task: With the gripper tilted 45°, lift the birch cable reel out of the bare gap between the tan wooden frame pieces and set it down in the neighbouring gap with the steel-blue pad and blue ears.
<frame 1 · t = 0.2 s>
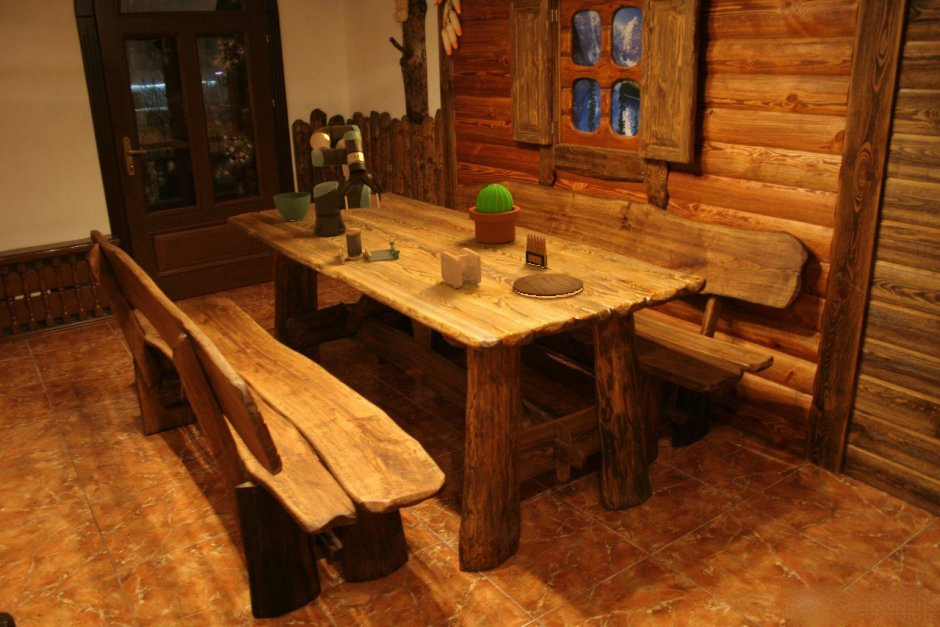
hand: (363, 209, 357), 16 cm above the table, tool tilted 35°, fingers open, 13 cm apart
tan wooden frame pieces: (368, 256, 342), on the table
trivet: (548, 289, 293), on the table
ammunition clip: (536, 265, 321), on the table
cable organizer: (461, 284, 302), on the table
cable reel: (355, 258, 341), on the table
potted cactus: (495, 239, 362), on the table
plant pot: (294, 219, 417), on the table
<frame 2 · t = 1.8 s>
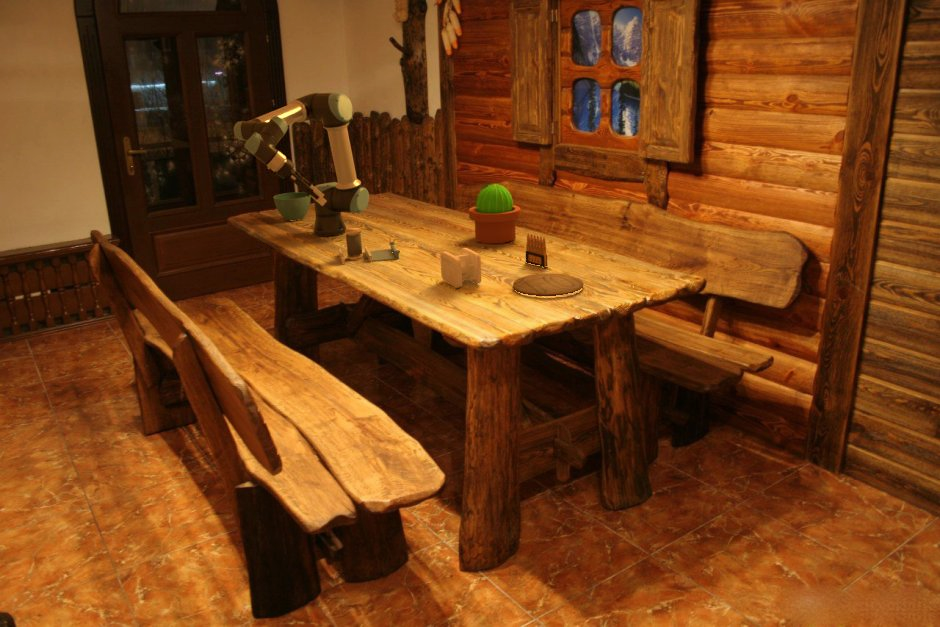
hand: (323, 200, 330), 25 cm above the table, tool tilted 45°, fingers open, 13 cm apart
nothing on the table moved.
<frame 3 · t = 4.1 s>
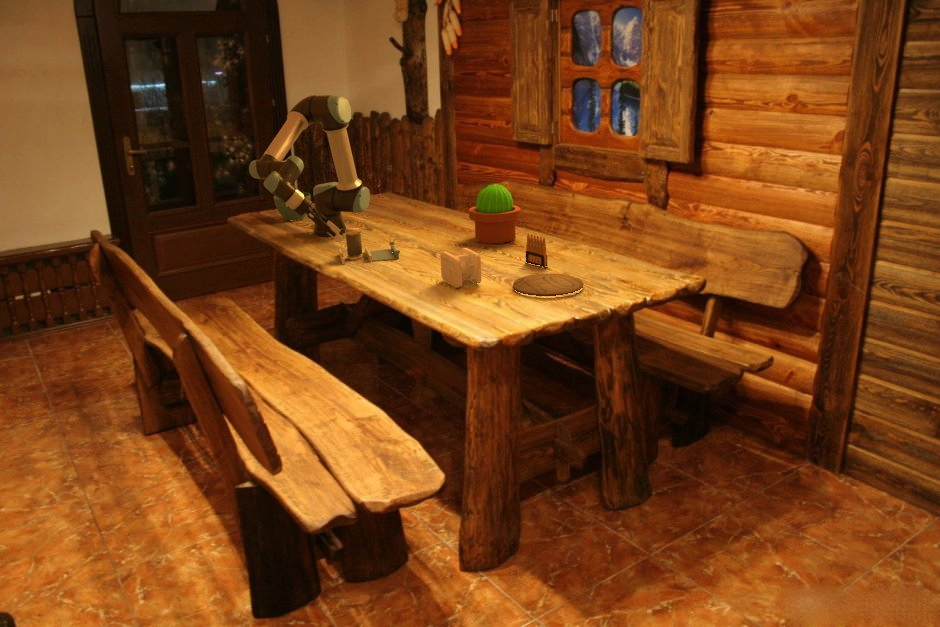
hand: (340, 236, 336), 10 cm above the table, tool tilted 45°, fingers open, 13 cm apart
nothing on the table moved.
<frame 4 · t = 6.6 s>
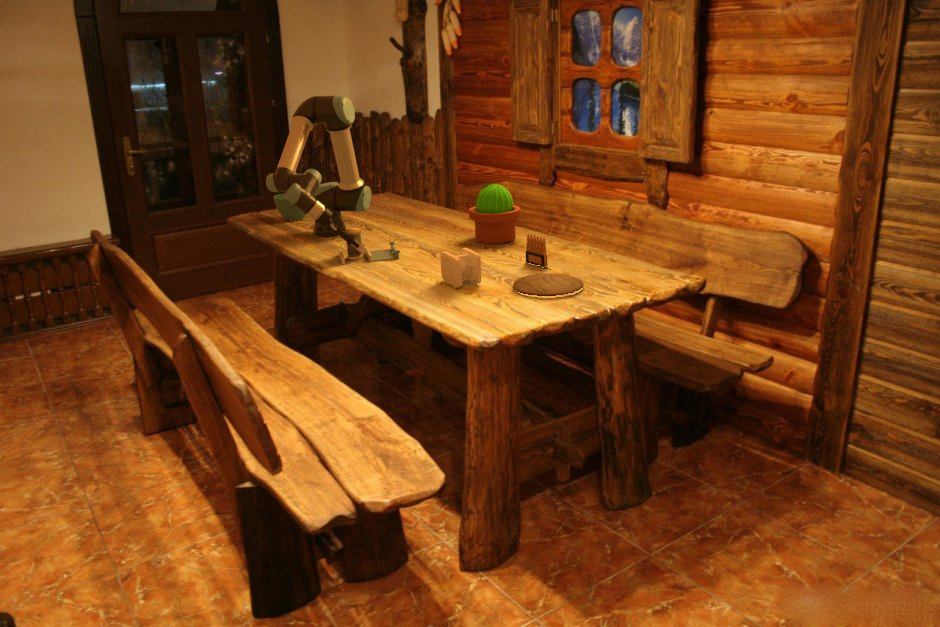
hand: (363, 249, 341), 3 cm above the table, tool tilted 45°, fingers closed on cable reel, 6 cm apart
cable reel: (355, 258, 341), on the table, touching gripper
everything else where it was.
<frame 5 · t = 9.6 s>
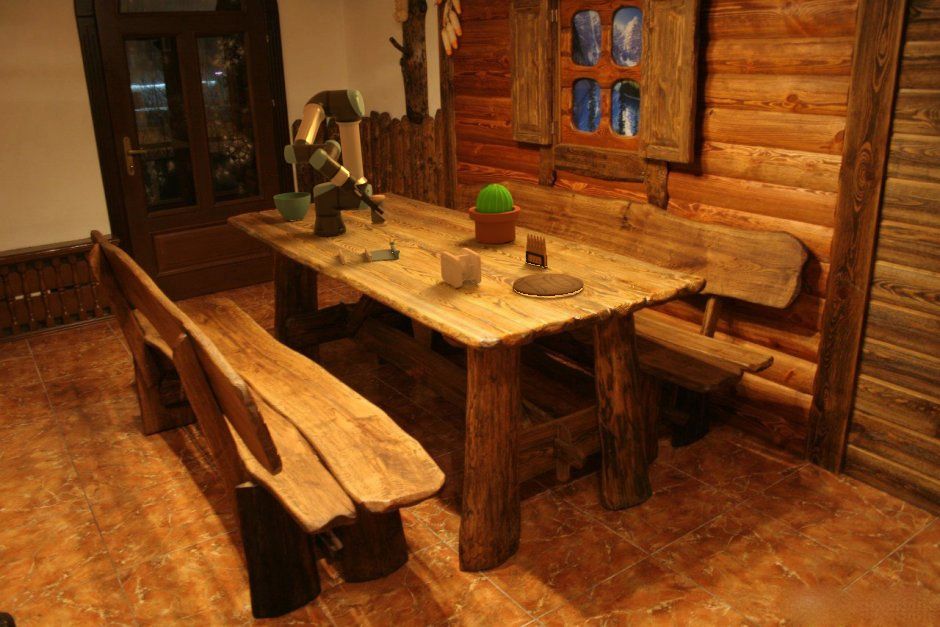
hand: (387, 216, 339), 16 cm above the table, tool tilted 45°, fingers closed on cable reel, 6 cm apart
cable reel: (379, 225, 339), point 13 cm above the table, touching gripper
everything else where it was.
when the fingers open (5 cm above the table, at t = 12.5 s): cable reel drops 1 cm, resting on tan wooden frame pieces.
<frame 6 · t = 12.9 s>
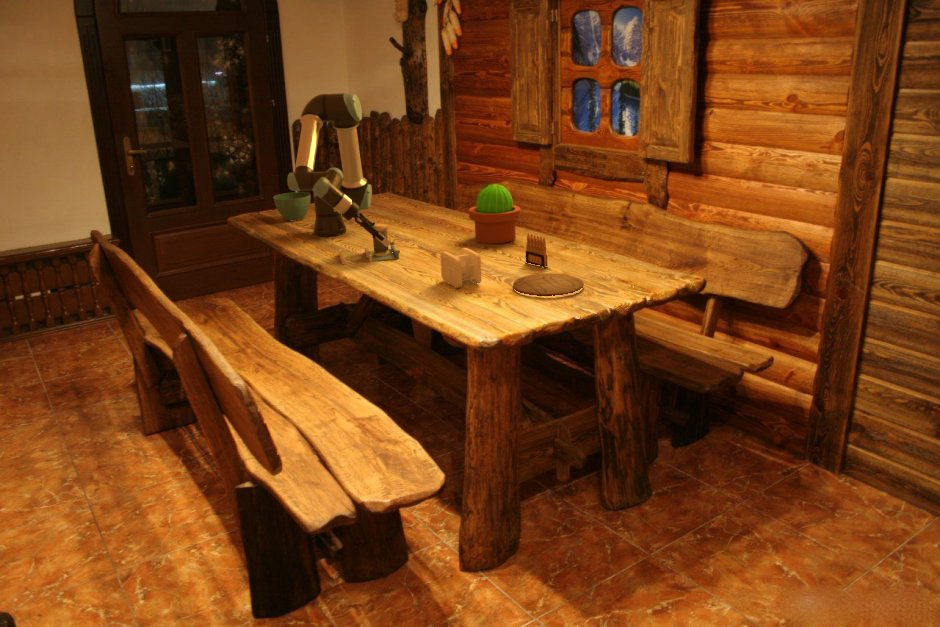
hand: (386, 240, 342), 6 cm above the table, tool tilted 45°, fingers open, 12 cm apart
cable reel: (381, 254, 343), resting on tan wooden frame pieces
everything else where it was.
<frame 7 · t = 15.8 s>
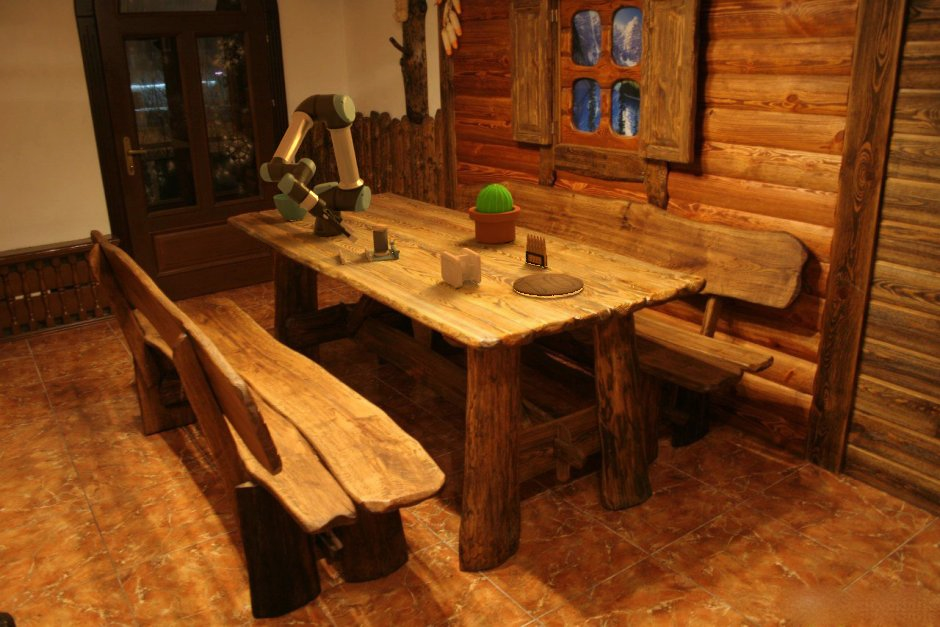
hand: (354, 237, 338), 9 cm above the table, tool tilted 45°, fingers open, 13 cm apart
nothing on the table moved.
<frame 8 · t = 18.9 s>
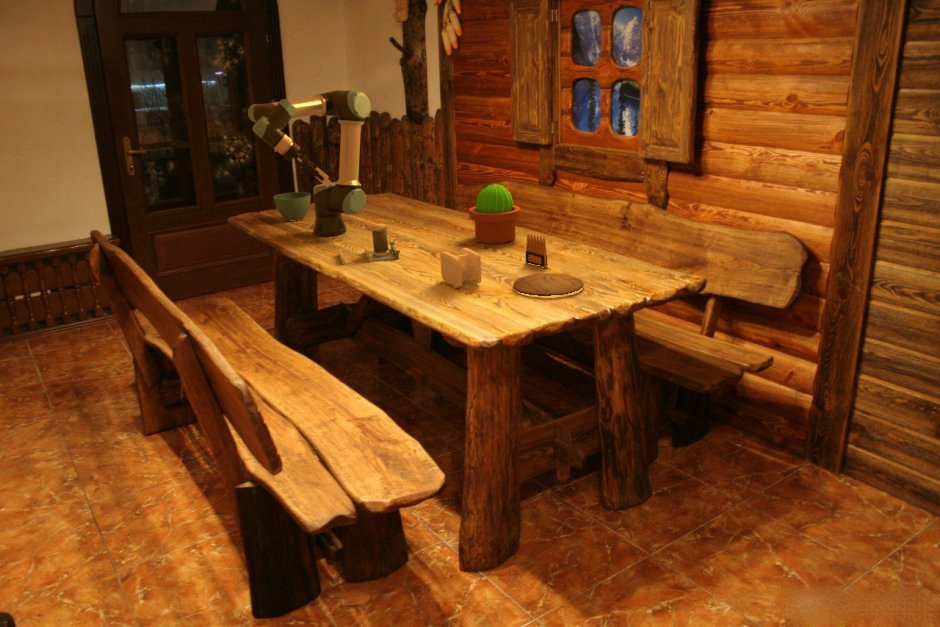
hand: (328, 182, 344), 30 cm above the table, tool tilted 45°, fingers open, 13 cm apart
nothing on the table moved.
at the end: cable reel inside the target area (0.1 cm from its centre), point 0.5 cm above the table; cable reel tilted 1°; the gripper is holding nothing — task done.
